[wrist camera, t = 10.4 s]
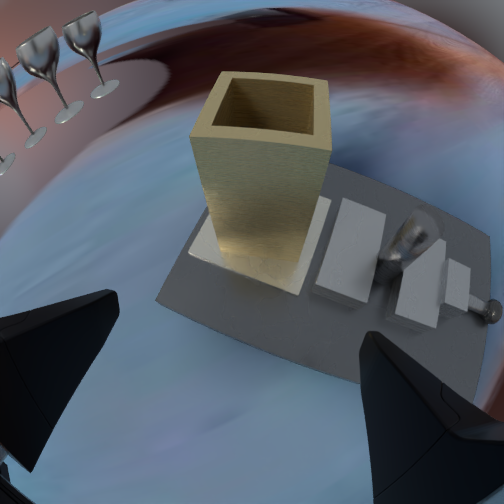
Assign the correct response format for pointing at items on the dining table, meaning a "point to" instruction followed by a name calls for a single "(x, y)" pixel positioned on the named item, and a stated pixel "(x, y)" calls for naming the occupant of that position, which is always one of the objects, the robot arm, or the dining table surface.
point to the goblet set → (53, 69)
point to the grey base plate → (350, 285)
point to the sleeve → (263, 160)
